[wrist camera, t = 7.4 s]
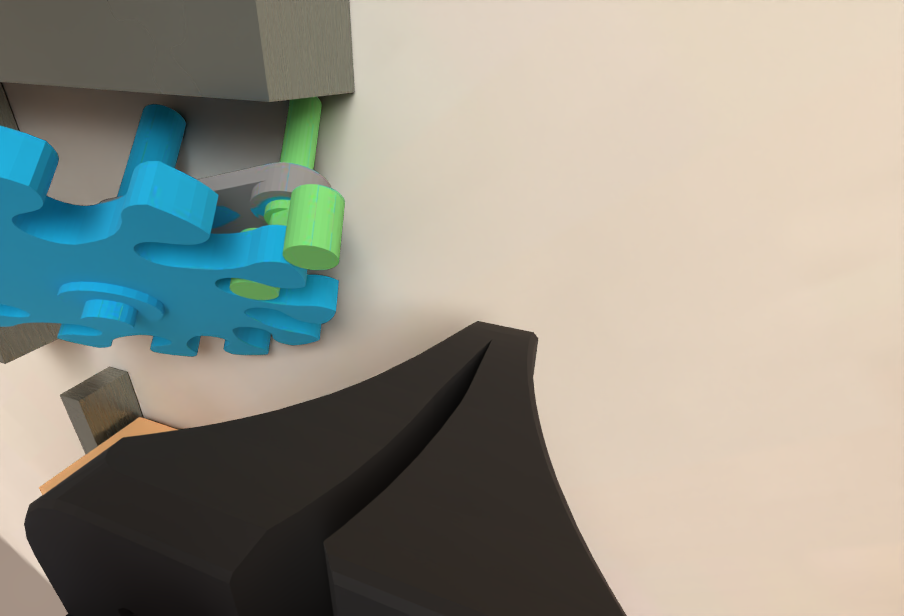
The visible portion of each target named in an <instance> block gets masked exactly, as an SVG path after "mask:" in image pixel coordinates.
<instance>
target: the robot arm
mask: <svg viewBox="0 0 904 616" xmlns="http://www.w3.org/2000/svg"><path fill="white" fill-rule="evenodd" d="M537 344H538V338H537V336H536V335H535V334H534V332H529V331H524V330H519V329H514V328H509V327H504V326H499V325H494V324H490V323H485V322H480V321H477V322H475V323H473V324H471V325H469V326H468V327H466V328H464V329H463V330H461V331H459V332H458V333H456V334H454V335H453V336H451V337H449V338H447V339H446V340H444V341H442V342H441V343H439V344H437V345H435V346H433V347H432V348H430V349H428V350H426V351H425V352H423V353H421V354H419V355H417V356H416V357H414V358H412V359H410V360H408V361H406V362H404V363H402V364H399V365H397V366H395V367H393V368H391V369H389V370H387V371H385V372H383V373H381V374H379V375H377V376H375V377H373V378H370V379H368V380H365V381H363V382H361V383H358V384H356V385H353V386H350V387H348V388H345V389H343V390H340V391H337V392H335V393H332V394H329V395H326V396H323V397H319V398H316V399H313V400H309V401H306V402H303V403H299V404H296V405H293V406H289V407H286V408H283V409H279V410H276V411H272V412H268V413H263V414H259V415H255V416H251V417H246V418H242V419H237V420H232V421H227V422H222V423H217V424H212V425H206V426H200V427H194V428H187V429H180V430H173V431H166V432H160V433H153V434H146V435H138V436H130V437H123V438H121V439H120V440H119V441H117V442H116V443H114V444H113V445H112V446H110V447H109V448H107V449H106V450H105V451H103V452H102V453H101V454H99V455H98V456H96V457H95V458H94V459H92V460H91V461H89V462H88V463H87V464H85V465H84V466H82V467H81V468H80V469H78V470H77V471H76V472H74V473H73V474H71V475H70V476H69V477H67V478H66V479H64V480H63V481H62V482H60V483H59V484H58V485H56V486H55V487H53V488H52V489H51V490H49V491H48V492H46V493H45V494H44V495H42V496H41V497H39V498H38V499H37V500H35V501H34V502H33V503H31V504H30V505H29V508H28V511H27V514H26V518H25V523H24V526H25V531H26V537H27V540H28V542H29V544H30V546H31V548H32V550H33V553H34V555H35V557H36V558H37V560H38V562H39V563H40V565H41V567H42V569H43V570H44V572H45V574H46V576H47V577H48V579H49V581H50V583H51V584H52V586H53V588H54V590H55V591H56V593H57V595H58V596H59V598H60V600H61V601H62V603H63V605H64V607H65V609H66V610H67V612H68V614H67V615H66V616H626V614H625V612H624V611H623V609H622V607H621V606H620V604H619V602H618V601H617V599H616V597H615V595H614V594H613V592H612V590H611V589H610V587H609V585H608V584H607V582H606V580H605V578H604V576H603V575H602V573H601V571H600V569H599V567H598V566H597V564H596V562H595V560H594V558H593V556H592V554H591V553H590V551H589V549H588V547H587V545H586V543H585V541H584V539H583V537H582V535H581V533H580V531H579V529H578V527H577V525H576V522H575V520H574V518H573V515H572V513H571V511H570V508H569V506H568V504H567V501H566V499H565V497H564V495H563V492H562V490H561V488H560V485H559V483H558V480H557V478H556V475H555V472H554V469H553V466H552V463H551V460H550V458H549V454H548V451H547V448H546V444H545V441H544V437H543V433H542V429H541V425H540V421H539V416H538V411H537V406H536V399H535V393H534V382H533V374H534V367H535V359H536V352H537Z"/></svg>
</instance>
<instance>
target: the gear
mask: <svg viewBox="0 0 904 616" xmlns="http://www.w3.org/2000/svg"><path fill="white" fill-rule="evenodd" d="M321 108H322V104H321V101H320V99H319V98H318V97H309V98H300V99H291V100H290V102H289V108H288V114H287V121H286V127H285V133H284V139H283V145H282V152H281V158H280V162H277V163H270V164H265V165H261V166H256V167H252V168H247V169H243V170H238V171H233V172H229V173H224V174H220V175H215V176H211V177H206V178H202V179H197V180H196V179H194V178H193V177H191V176H189V175H187V174H185V173H183V172H181V171H179V170H177V169H175V166H176V162H177V158H178V154H179V150H180V146H181V142H182V138H183V135H184V131H185V127H186V122H185V120H184V118H183V117H182V116H181V115H180V114H179V113H178V112H176V111H175V110H173V109H171V108H169V107H166V106H163V105H159V104H151V105H147V106H145V107H144V109H143V112H142V115H141V119H140V122H139V125H138V129H137V132H136V135H135V139H134V142H133V145H132V149H131V152H130V155H129V159H128V162H127V165H126V169H125V172H124V175H123V179H122V182H121V185H120V189H119V192H118V195H117V197H115V198H111V199H106V200H103V201H101V202H100V203H99V204H96V205H90V206H80V205H73V204H69V203H64V202H61V201H58V200H55V199H53V198H51V197H48V196H46V195H47V192H48V190H49V187H50V184H51V181H52V179H53V176H54V173H55V170H56V167H57V165H58V161H59V157H58V154H57V152H56V151H55V150H54V148H53V147H52V146H51V145H50V144H49V143H48V142H47V141H45V140H42V139H39V138H37V137H34V136H32V135H29V134H27V133H23V132H20V131H17V130H14V129H11V128H7V127H4V126H0V327H10V326H14V325H17V324H22V323H42V322H43V323H61V326H60V330H59V333H58V336H57V338H59V339H62V340H65V341H69V342H73V343H78V344H83V345H88V346H93V347H98V348H104V347H109V346H111V345H112V341H113V339H115V338H119V337H124V336H132V335H151V336H153V339H152V343H151V348H150V349H151V350H152V351H153V352H157V353H163V354H170V355H179V356H191V357H193V356H196V355H197V352H198V347H199V342H200V337H201V336H213V337H218V338H222V339H225V344H224V350H225V351H226V352H229V353H231V354H238V355H265V354H268V352H269V345H270V338H271V334H272V336H273V338H274V340H276V341H278V342H280V343H283V344H288V345H302V344H307V343H312V342H315V341H318V340H320V332H321V324H324V323H326V322H328V321H330V320H331V319H332V318H333V316H334V314H335V312H336V305H337V295H338V285H339V281H338V280H336V279H334V278H331V277H328V276H323V275H314V274H307V269H310V270H326V269H331V268H333V267H335V266H337V265H338V263H339V257H340V246H341V236H342V226H343V216H344V206H345V201H344V198H343V197H342V195H341V194H339V193H338V192H337V191H335V190H333V189H332V188H331V186H330V184H329V182H328V181H327V180H326V179H325V178H324V177H323V176H322V175H321V174H319V173H318V172H316V171H314V162H315V154H316V146H317V139H318V131H319V123H320V116H321Z"/></svg>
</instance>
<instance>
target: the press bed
mask: <svg viewBox="0 0 904 616" xmlns="http://www.w3.org/2000/svg"><path fill="white" fill-rule="evenodd" d="M1 82H8V83H22V84H35V85H48V86H62V87H75V88H89V89H102V90H115V91H129V92H142V93H156V94H169V95H182V96H196V97H209V98H222V99H236V100H249V101H263V102H274V101H283V100H291V99H300V98H309V97H318V96H326V95H335V94H344V93H353V92H354V76H353V59H352V43H351V26H350V9H349V0H0V126H4V127H7V128H11V129H14V130H17V131H19V130H18V128H17V125H16V122H15V119H14V117H13V114H12V111H11V109H10V106H9V103H8V101H7V98H6V95H5V92H4V90H3V87H2V84H1ZM60 326H61V323H43V322H42V323H22V324H17V325H14V326H10V327H0V362H1V363H4V364H6V363H8V362H10V361H13V360H15V359H17V358H19V357H21V356H23V355H25V354H27V353H29V352H32V351H34V350H36V349H38V348H40V347H42V346H44V345H46V344H48V343H51V342H53V341H55V340H57V339H59V338H57V336H58V333H59V330H60ZM60 397H61V399H62V401H63V404H64V406H65V408H66V410H67V413H68V415H69V417H70V420H71V422H72V424H73V426H74V429H75V431H76V433H77V435H78V438H79V440H80V442H81V445H82V447H83V449H84V451H85V454H87V453H89V452H90V451H92V450H93V449H95V448H96V447H97V446H99V445H100V444H102V443H103V442H105V441H106V440H107V439H109V438H110V437H112V436H113V435H115V434H116V433H117V432H119V431H120V430H122V429H123V428H125V427H126V426H127V425H129V424H130V423H132V422H133V421H135V420H136V419H137V418H139V417H142V418H143V416H142V413H141V410H140V407H139V405H138V402H137V399H136V396H135V393H134V390H133V387H132V384H131V382H130V379H129V376H128V373H127V372H125V371H122V370H118V369H115V368H112V367H108V368H106V369H104V370H103V371H101V372H99V373H97V374H96V375H94V376H92V377H90V378H89V379H87V380H85V381H83V382H82V383H80V384H78V385H76V386H75V387H73V388H71V389H69V390H68V391H66V392H64V393H62V394H61V395H60Z"/></svg>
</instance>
